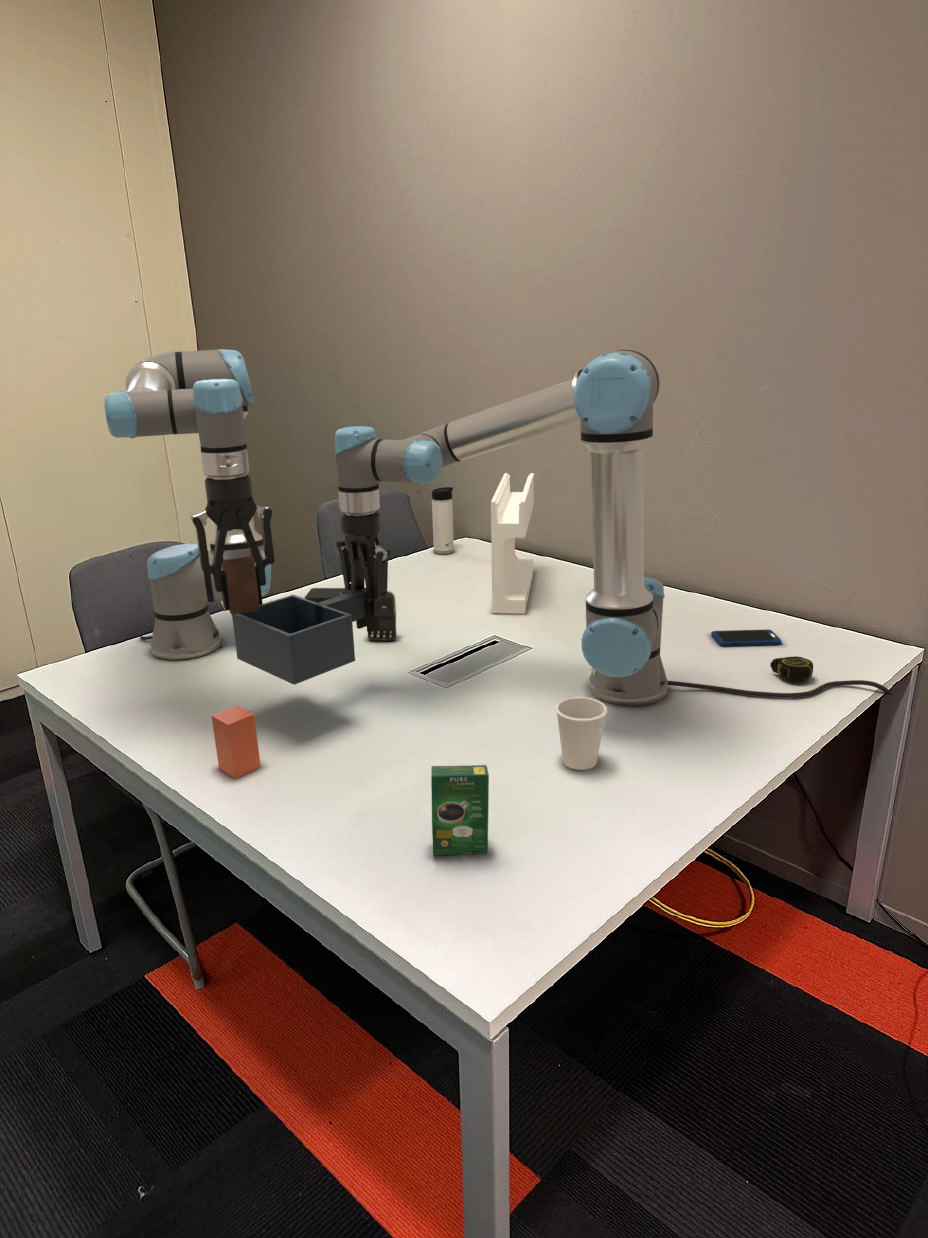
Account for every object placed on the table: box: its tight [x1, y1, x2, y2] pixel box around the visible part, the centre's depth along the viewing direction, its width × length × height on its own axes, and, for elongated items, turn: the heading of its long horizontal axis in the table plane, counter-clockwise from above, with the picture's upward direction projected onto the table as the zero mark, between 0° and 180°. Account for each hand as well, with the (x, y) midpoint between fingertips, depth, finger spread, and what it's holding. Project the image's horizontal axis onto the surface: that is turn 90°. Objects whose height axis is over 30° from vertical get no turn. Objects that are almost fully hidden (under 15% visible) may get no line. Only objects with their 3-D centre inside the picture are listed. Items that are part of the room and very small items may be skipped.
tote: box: [231, 587, 383, 686], centre depth 160 cm, size 27×18×9 cm, turn 137°
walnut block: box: [222, 549, 260, 616], centre depth 150 cm, size 5×5×10 cm
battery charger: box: [367, 590, 398, 642], centre depth 195 cm, size 7×4×11 cm, turn 86°
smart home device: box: [304, 587, 350, 603], centre depth 224 cm, size 8×2×20 cm
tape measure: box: [769, 655, 814, 682], centre depth 171 cm, size 7×7×4 cm
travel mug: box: [431, 486, 455, 555], centre depth 260 cm, size 6×7×20 cm
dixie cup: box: [555, 696, 608, 771], centre depth 141 cm, size 8×8×10 cm
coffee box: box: [430, 764, 490, 856], centre depth 119 cm, size 8×3×13 cm, turn 92°
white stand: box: [490, 472, 535, 615], centre depth 222 cm, size 35×8×28 cm, turn 172°
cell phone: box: [710, 629, 782, 647], centre depth 191 cm, size 7×14×1 cm, turn 91°
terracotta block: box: [211, 705, 262, 780], centre depth 142 cm, size 5×5×10 cm
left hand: (243, 605), depth 151 cm, fingers closed on walnut block, 5 cm apart
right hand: (368, 628), depth 168 cm, fingers closed on tote, 2 cm apart
